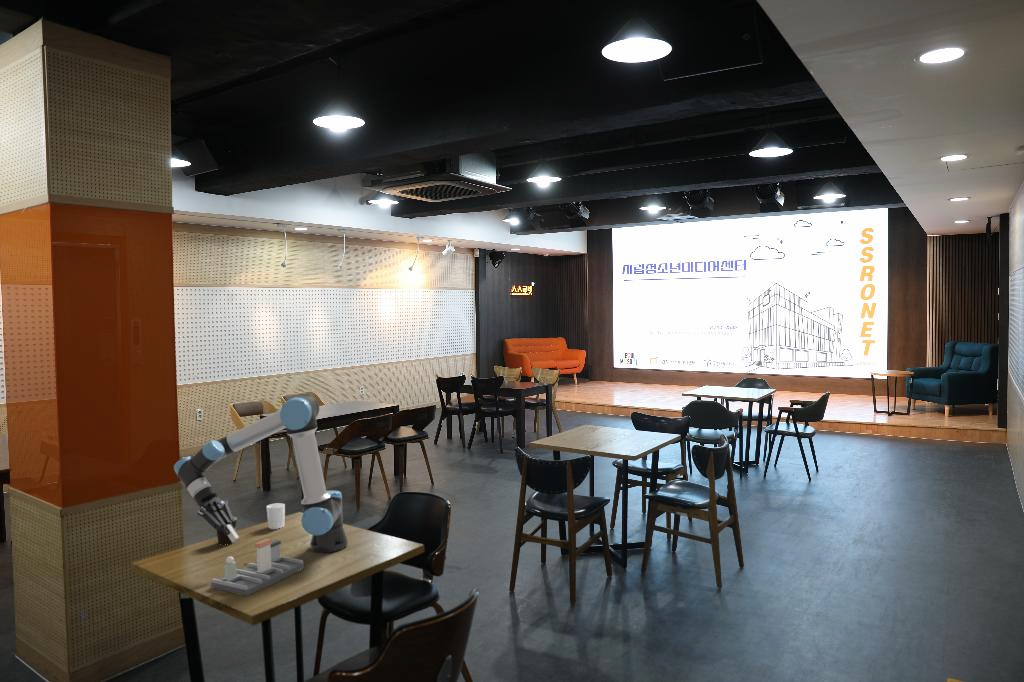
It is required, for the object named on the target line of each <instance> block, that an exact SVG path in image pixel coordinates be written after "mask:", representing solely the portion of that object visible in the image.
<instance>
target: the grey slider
mask: <svg viewBox="0 0 1024 682" xmlns="http://www.w3.org/2000/svg"><path fill="white" fill-rule="evenodd" d="M281 543H282V540H279V539H274V540H272V544H270V547H271V562H272V563H276V562H278V561H280V560H282V557H280V556H281V549H280V548H281V547H280V545H281Z"/></svg>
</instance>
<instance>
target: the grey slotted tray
mask: <svg viewBox="0 0 1024 682" xmlns="http://www.w3.org/2000/svg"><path fill="white" fill-rule="evenodd" d="M280 557H282V560H280V561H278V562H276V563H272V562H271V568H274V571H273V572H271V573H269V574H267V575H264V574H259V573H255V571H258V568H257V559H256V560H255V562H254V563H252V562H249V563H248V566H245V567H242V568H240V569H239V568H237V575H240V577H241V578H240V579H238V580H236V581H234V582H227V581H223V580H221V579H222V578H224V576H222V577H220V578H211V582H210V586H211V587H214V588H213V589H215V588H217V589H216V590H219V589H221V590H220V591H223V592H224V591H225V592H228V591H229V593H234V594H237V595H241V594H242V596H245V597H246V596H250V594H251V595H253V594H254V592H255V593H256V591H257V592H258V591H259V592H260V591H261V590H262V588H263V589H265V588H267V587H269V586H271V585H273V584H276V583H277V582H279V581H281V579H282V580H284V579H285V578H288V577H290V576H292V575H294V574H296V573H298V572H299V571H298V570H300V569H302V568H304V569H305V564H304V560H303V559H299V558H293V557H288V556H282V555H280ZM302 570H303V569H302ZM297 571H298V572H297ZM300 571H301V570H300ZM295 572H296V573H295ZM293 573H294V574H293ZM291 574H292V575H291ZM287 576H288V577H287ZM283 578H284V579H283ZM252 593H253V594H252Z"/></svg>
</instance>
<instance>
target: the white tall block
mask: <svg viewBox="0 0 1024 682" xmlns="http://www.w3.org/2000/svg"><path fill="white" fill-rule="evenodd" d="M272 541H273V540H272V539H270V538H265V539H263V540H260V541H258V542H255V543H254V547H255V549H256V560H257V568H258V571H255V573H259V574H264V575H267V574H269V573H271V572H273V571H274V568H271V547H270V544H272Z"/></svg>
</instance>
